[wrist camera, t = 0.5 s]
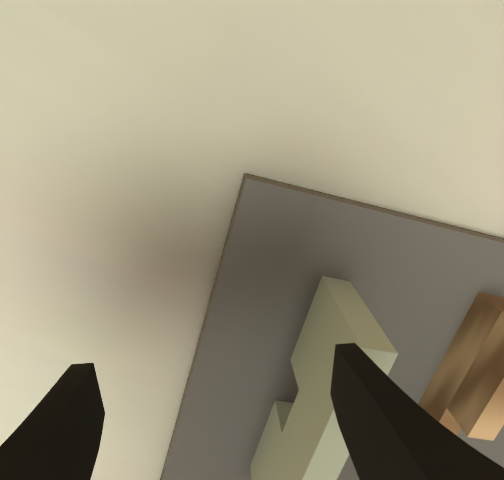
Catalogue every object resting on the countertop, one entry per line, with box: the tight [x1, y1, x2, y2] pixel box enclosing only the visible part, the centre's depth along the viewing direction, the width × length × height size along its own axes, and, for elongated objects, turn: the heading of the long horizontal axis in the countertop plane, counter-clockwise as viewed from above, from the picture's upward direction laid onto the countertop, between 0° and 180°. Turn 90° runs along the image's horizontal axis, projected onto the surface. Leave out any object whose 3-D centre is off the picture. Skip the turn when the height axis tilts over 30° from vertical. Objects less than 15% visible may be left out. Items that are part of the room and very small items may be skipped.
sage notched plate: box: [250, 276, 398, 480], centre depth 21 cm, size 14×2×6 cm, turn 164°
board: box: [160, 173, 504, 480], centre depth 26 cm, size 22×23×1 cm
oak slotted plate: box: [418, 292, 504, 441], centre depth 24 cm, size 16×2×4 cm, turn 164°
